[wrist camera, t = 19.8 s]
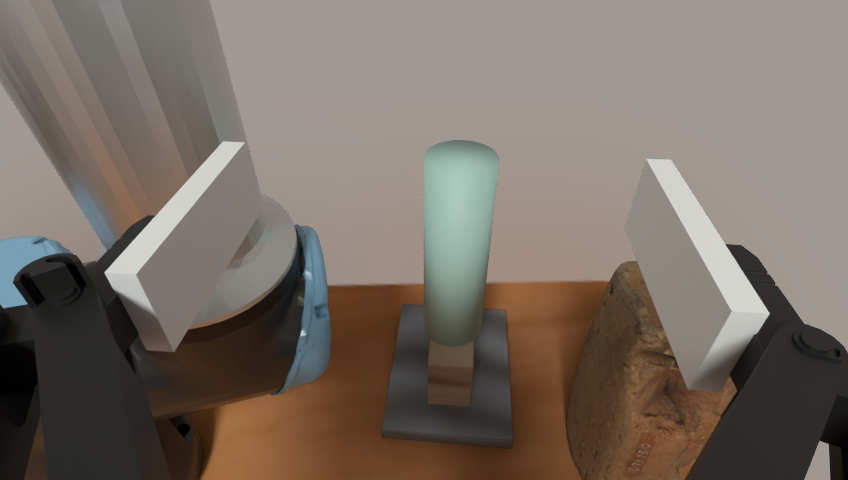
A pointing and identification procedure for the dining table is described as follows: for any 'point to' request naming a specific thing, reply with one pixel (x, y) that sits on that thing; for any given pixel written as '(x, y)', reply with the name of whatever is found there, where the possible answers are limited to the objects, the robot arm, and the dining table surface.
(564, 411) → the dining table surface
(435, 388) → the ridge stand
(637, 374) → the block
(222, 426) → the dining table surface
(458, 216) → the cylinder
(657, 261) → the robot arm
